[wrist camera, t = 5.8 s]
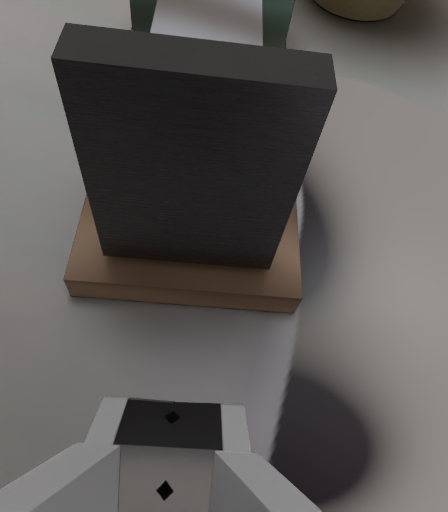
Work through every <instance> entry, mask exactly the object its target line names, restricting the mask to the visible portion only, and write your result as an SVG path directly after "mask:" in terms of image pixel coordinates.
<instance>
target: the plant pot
mask: <svg viewBox="0 0 448 512" xmlns="http://www.w3.org/2000/svg"><path fill="white" fill-rule="evenodd" d="M315 1H316V2H317V3H318V4H319V5H320V6H321V7H323V8H324V9H326V10H327V11H329V12H331V13H333V14H336V15H338V16H341V17H345V18H349V19H353V20H360V21H374V20H382V19H385V18H388V17H390V16H391V15H393V14H394V13H395V12H396V11H397V10H398V9H399V8H400V7H401V5H402V4H403V3H404V2H405V1H406V0H315Z"/></svg>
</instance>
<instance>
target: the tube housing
mask: <svg viewBox="0 0 448 512" xmlns="http://www.w3.org/2000/svg"><path fill="white" fill-rule="evenodd" d="M294 3H295V0H130V9H131V21H132V28H131V31H139V32H148V33H156V34H165V35H174V36H182V37H191V38H199V39H208V40H216V41H225V42H233V43H242V44H250V45H259V46H267V47H276V48H285V49H286V37H287V33H288V29H289V24H290V20H291V16H292V11H293V7H294ZM64 282H65V284H66V286H67V288H68V291H69V293H70V295H71V296H79V297H92V298H105V299H118V300H131V301H143V302H156V303H169V304H182V305H195V306H208V307H221V308H234V309H246V310H259V311H272V312H285V313H294V312H295V311H296V309H297V307H298V306H299V304H300V302H301V300H302V285H301V269H300V254H299V238H298V222H297V207H296V201H295V203H294V206H293V209H292V211H291V214H290V217H289V219H288V222H287V225H286V227H285V230H284V232H283V235H282V238H281V240H280V243H279V246H278V248H277V251H276V254H275V256H274V259H273V262H272V264H271V267H270V270H267V269H255V268H243V267H232V266H220V265H208V264H196V263H184V262H172V261H160V260H148V259H136V258H124V257H112V256H103V253H102V249H101V245H100V242H99V238H98V234H97V230H96V226H95V223H94V219H93V215H92V211H91V208H90V204H89V200H88V196H87V194H86V198H85V202H84V206H83V209H82V213H81V217H80V220H79V224H78V228H77V231H76V235H75V239H74V243H73V246H72V250H71V254H70V257H69V261H68V265H67V268H66V272H65V276H64Z"/></svg>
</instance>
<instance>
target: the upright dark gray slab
mask: <svg viewBox="0 0 448 512" xmlns="http://www.w3.org/2000/svg"><path fill="white" fill-rule="evenodd" d="M51 61H52V64H53V68H54V72H55V76H56V79H57V83H58V87H59V91H60V95H61V98H62V102H63V106H64V110H65V113H66V117H67V121H68V125H69V128H70V132H71V136H72V140H73V144H74V147H75V151H76V155H77V159H78V162H79V166H80V170H81V174H82V177H83V181H84V185H85V189H86V193H87V196H88V200H89V204H90V208H91V211H92V215H93V219H94V223H95V226H96V230H97V234H98V238H99V242H100V245H101V249H102V253H103V256H112V257H124V258H136V259H148V260H160V261H172V262H184V263H196V264H208V265H220V266H232V267H243V268H255V269H267V270H270V267H271V264H272V262H273V259H274V256H275V254H276V251H277V248H278V246H279V243H280V240H281V238H282V235H283V232H284V230H285V227H286V225H287V222H288V219H289V217H290V214H291V211H292V209H293V206H294V203H295V201H296V198H297V195H298V193H299V190H300V187H301V185H302V182H303V180H304V177H305V174H306V172H307V169H308V166H309V164H310V161H311V158H312V156H313V153H314V150H315V148H316V145H317V142H318V140H319V137H320V135H321V132H322V129H323V126H324V124H325V121H326V119H327V116H328V113H329V111H330V108H331V105H332V103H333V100H334V97H335V95H336V92H337V85H336V78H335V72H334V66H333V59H332V54H327V53H319V52H310V51H302V50H293V49H285V48H276V47H267V46H259V45H250V44H242V43H233V42H225V41H216V40H208V39H199V38H191V37H182V36H174V35H165V34H156V33H148V32H139V31H131V30H122V29H114V28H105V27H97V26H88V25H80V24H71V23H65V25H64V28H63V30H62V32H61V35H60V37H59V40H58V42H57V44H56V47H55V49H54V52H53V54H52V56H51Z"/></svg>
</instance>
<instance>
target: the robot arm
mask: <svg viewBox="0 0 448 512" xmlns="http://www.w3.org/2000/svg"><path fill="white" fill-rule="evenodd" d="M0 512H322V511H321V510H320V509H319V508H317V506H316V505H315V504H313V503H312V502H311V501H310V500H309V499H308V498H307V497H306V496H305V495H304V494H302V493H301V492H300V491H299V490H298V489H297V488H296V487H295V486H293V484H291V483H290V482H289V481H288V480H287V479H286V478H285V477H284V476H283V475H282V474H280V473H279V472H278V471H277V470H276V469H275V468H274V467H273V466H272V465H271V464H270V463H268V462H267V461H266V460H265V459H264V458H263V457H262V456H261V455H260V454H258V453H251V446H250V439H249V433H248V426H247V419H246V413H245V406H244V405H243V404H214V403H188V402H175V401H164V400H153V399H141V398H128V397H115V396H105V397H104V398H103V399H102V401H101V403H100V405H99V408H98V410H97V412H96V414H95V417H94V419H93V421H92V424H91V426H90V428H89V430H88V433H87V435H86V437H85V439H84V442H83V443H75V444H73V445H71V446H70V447H68V448H66V449H65V450H63V451H61V452H60V453H58V454H56V455H55V456H53V457H52V458H50V459H48V460H47V461H45V462H43V463H42V464H40V465H38V466H37V467H35V468H34V469H32V470H30V471H29V472H27V473H25V474H24V475H22V476H20V477H19V478H17V479H15V480H14V481H12V482H11V483H9V484H7V485H6V486H4V487H2V488H1V489H0Z"/></svg>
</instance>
